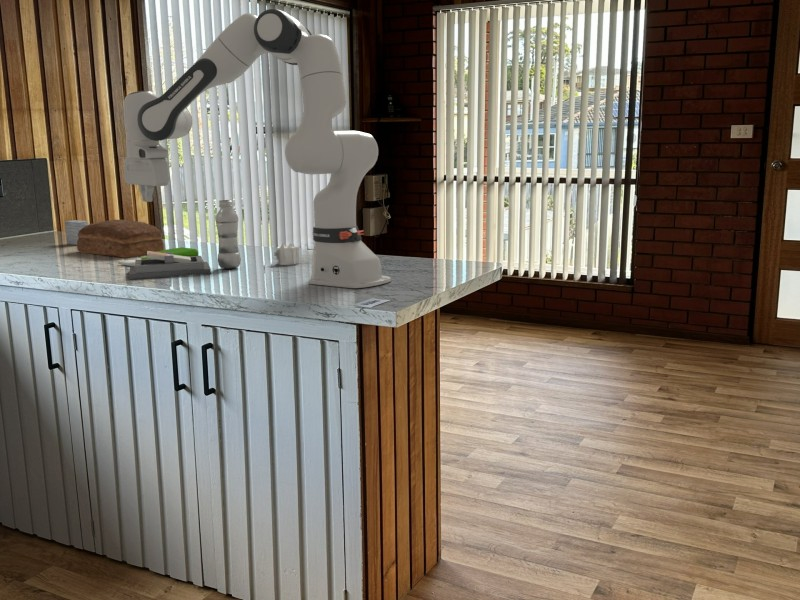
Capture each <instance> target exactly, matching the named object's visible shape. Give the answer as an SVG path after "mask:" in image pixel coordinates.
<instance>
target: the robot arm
mask: <svg viewBox="0 0 800 600" xmlns="http://www.w3.org/2000/svg"><path fill="white" fill-rule="evenodd" d="M264 54H271V55H272V56H273V57H274V58H276V59H278V60H280V61H282V62H284V64H288V65H291V66H297V67H298V71H299V78H300V79H299V80H300V85H301V91H302V92H301V95H302V104H303V107H302V108H303V112H302V118H301V121H300V124H299V126H298V128H297V129H296V131H295V132H294V133H293V134H292V135H291V136H290V137H289V138H288V140H287V142H286V144H285V149H284V155H285V160H286V164H287V165H288V166H289V168H290V169H291V170H292V171H294V173H300V174H305V175H306V174H307V175H327V174H328V175H330V178H329V181H328V183H327V185H326V186H325V187H323V189H321V190H319V191H318V192H317V193H316V195H314V196H315V197H314V199H313V219H314V220H313V222H314V223H313V224H314V226H313V227H312V241H314V248H313V251H312V258H311V259H312V262H311V263H312V264H311V274H310V275H311V276H310V279H309V282H308V283H309V285H319V286H329V287H338V288H349V289H361V288H369V287H375V286H379V285H383V284H388V283H390V282H392V279H391V277H390V276H387V275H383V273H382V270H383V269H382V264H381V260H380V258H379V257H378V256H377V255H376V254H375V253H374V251H372V250H371V249H370V248H369V247H368V246H367V245H366V243H364V242H363V241H362V240H363V239H362V236H363V235H364V233H363V232H365V231H364V229H362V230H360V229H359V227H358V225H357V198H358V197H357V196H358V193H359V188H360V186H361V183H362V181H363V179H364V177H365V176H366V174H367V173H368V172H369V171H370V170H371V169H372V168H374V166H375V165H376V162H377V161H378V156H379V146H378V143H377V141H376V139H375V138H374V136H373V135H372V134H370V133H367V132H363V131H359V130H333V127H332V122H333V119H334V118H336V117H337V116H339V115H340V114H341V113H343V111H344V109H346V105H347V95H346V89H345V82H344V75H343V69H342V64H341V60H340V56H339V52H338V50H337V47H336V43H335V42H334V41H333V39H332V38H331V37H329V36H328V35H326V34H321V33H316V34H312V33H311V31H310V30H309V29H308V28H307V27H305V26H304V25H303V24H302V22H300V20H298V19H296V18H295V17H294V16H292V15H290V14H288V13H287V12H286V11H284V10H281V9H278V8H271V9H270V8H269V9H266V10H264V11H262V12H261V13H260V14H259V15H256V14H253V13H250V12H248V13H243V14H241V15H240V16H239V17H237V18H236V19H235V20H233V21H232V22H231V23H230V24H229V25H228V26H226V27H225V29H224V30H222V32H220V34H219V35H218V36H217V37H216V38H215V39H214V40H213V42H212V43H211V44H210V45H209V46H208V48H206V50H205V51H203V53H202V55H200V57H199V58H198V59H197V60H196V61H195V62H194V63H193V65H191V67H190V68H189V69H187V70H186V71H185V72H184V73H183V74H182V75H181V76H180V77H179V78H177V80H176V81H174V83H173V84H172V85H171V86H170V87H169V88H168V89H167V90H166V91H165V92H164V93H163V94H162V95H160V96H159V95H157V94H155V93H154V92H153V91H151V90H139V91H137V90H136V91H134V92H130V93H129V94H126V95H125V97H124V101H123V125H124V128H125V131H126V137H125V148H126V156H125V159H124V160H123V177H124V178H123V179H124V183H125V184H126V185H134V186H136V185H137V186H138V190H139V193H140V195H141V200H142V202H146V203H147V202H148V203H150V202H153V201H154V200H153V198H154V197H153V195H154V191H155V187H166V186H168V184H169V181H170V180H169V179H170V177H169V175H170V173H169V162H168V158H169V151H168V149H166V148H165V147H164V146H162V145H161V144H160V141H165V140H173V139H181V138H183V137H185V136H187V135H188V134H189V133H190V131H191V130H192V127H193V117H192V115H191V112H190V111H189V110H188V109H187V108H188V107H189V106H190V105H191V104H192V103H193V102H194V101H195V100H196V99H197V98H198V97H199V96H200V95H201V94H203V93H205V92H206V91H207V90H209V89H213V88H215V87H218V86H221V85H222V86H223V85H226V84H230V83H232V82H235V81H236V80H237V79H238V78H240V77H241V76H242V75H243V74H245V72H246V71H248V69H249V68H250V67H251V66H252V64H254V63H255V62H256V60H258V58H259V57H261V56H263V55H264Z"/></svg>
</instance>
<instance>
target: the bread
mask: <svg viewBox="0 0 800 600" xmlns="http://www.w3.org/2000/svg"><path fill="white" fill-rule="evenodd" d="M162 236H163V234H162V231H161V230H160V229H159V228H158V227H156V226H155V225H152V224H149V223H146V222H143V221H136V220H129V219H110V220H104V221H97V222H93V223H88V225H87V226H85V227H83V228H82V229H81V230H80V231H79V233H78V238H79V239H78V241H77V245H76V247H77V251H78V253H83V254H93V255H94V254H95V255H102V256H107V257H117V258H123V259H124V258H126V259H127V258H136V257H140V256H141V257H143V256H147V251H153V252H157V251H162V250H165V243H164V241H163V239H162Z"/></svg>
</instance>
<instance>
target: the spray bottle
mask: <svg viewBox="0 0 800 600" xmlns="http://www.w3.org/2000/svg"><path fill="white" fill-rule="evenodd" d="M157 252H160V253H164V252H173V255H179V256H186V257H190V256H199V251H198V250H197V248H192V247H191V248H189V247H181V246H180V247H176V248H175V247H174V248H168V249H164V250H162V251H157ZM141 259H151V258H147V256H144V257H143V256H141V257H138V258H136V259H126V260H125V259H124V260H118V261H117V263H118V265H121V266H127V267H133V266H135V260H141Z"/></svg>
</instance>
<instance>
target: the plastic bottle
mask: <svg viewBox="0 0 800 600" xmlns="http://www.w3.org/2000/svg"><path fill="white" fill-rule="evenodd" d="M218 204H219V205H218V207H219V208H220V209H219V210H218V212H217V213H216V215H215V224H216V230H217V237H218V254H217V263H218V266H219V267H220V269H226V270H232V269H235V268H238V267H240V265H241V261H242V260H241V259H242V258H241V254H240V249H239V242H238V241H239V239H238V229H239V216H238V214H237V213H236V211H235V210H234V209H233V207H234V204H233V200H232V199H222V200H218Z"/></svg>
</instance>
